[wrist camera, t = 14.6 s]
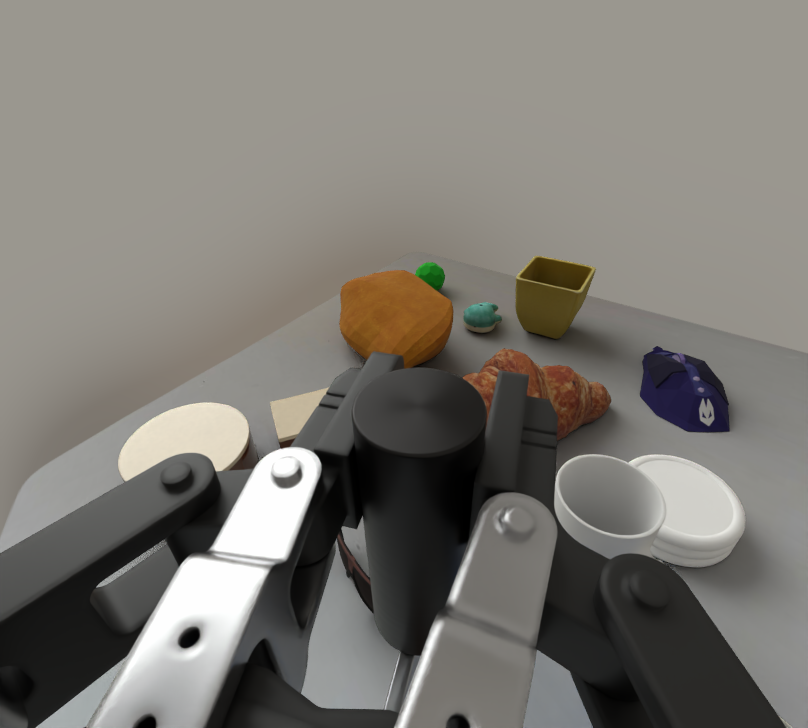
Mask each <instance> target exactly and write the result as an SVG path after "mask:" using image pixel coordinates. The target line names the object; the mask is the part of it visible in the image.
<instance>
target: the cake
mask: <svg viewBox="0 0 808 728" xmlns="http://www.w3.org/2000/svg"><path fill="white" fill-rule="evenodd" d="M182 453H199V454H203V455H205V456H207V457H208V458H209V459H210V460H211V461H212V463H213V465H214V468H215V470H216V471H229V470H245V469H253V468H255V467H256V465H257V464H258V455H257V452H256V448H255V445H254V442H253V438H252V435H251V432H250V428H249V425H248V422H247V420H246V418H245V417H244V415H243V414H242V413H241V412H239V411H238V410H237V409H235V408H233V407H231V406H228V405H225V404H220V403H195V404H190V405H185V406H181V407H178V408H175V409H172V410H169V411H167V412H165V413H162V414H160V415H158V416H157V417H155V418H153V419H151V420H150V421H148V422H147V423H145V424H144V425H143V426H141V427H140V428H139V429H138V430H137V431H135V432H134V434H133V435H132V436H131V437H130V438H129V439H128V440H127V442H126V443H125V445H124V446H123V448H122V450H121V453H120V455H119V459H118V468H119V473H120V475H121V477H122V479H123V481H124V482H126V481H128V480H130V479H131V478H133V477H135V476H137V475H138V474H140V473H142V472H144V471H145V470H147V469H149V468H151V467H152V466H154V465H156V464H158V463H159V462H161V461H163V460H165V459H167V458H169V457H172V456H174V455H178V454H182Z"/></svg>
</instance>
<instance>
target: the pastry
mask: <svg viewBox="0 0 808 728" xmlns="http://www.w3.org/2000/svg"><path fill="white" fill-rule="evenodd" d="M499 370H501V371H508V372H515V373H521V374H528V375H529V382H528V389H527V396H531V397H537V398H543V399H549V400H550V402H551V404H552V406H553V407H554V409H555V411H556V413H557V415H558V426H557V441H558V440H560V439H562V438H564V437H566V436H567V434H569V433H570V432H572V431H573V430H575V429H577V428H578V426H579V425H583V424H587V423H591V422H593V421H595V420H597V419H598V418H599V417H600V416H602V415H603V414H604V413H605V412H606V410H607V409H608V407H609V405H610V403H611V398H610V395H609V393H608V391H607V390H606V388H605V387H604V386H603V385H601V384H600V383H598V382H588V381H587V380H586V379H585V378H583V377H581V376H580V375H579V374H578V373H576V372H574V371H573V370H572V369H571V368H570V367H568V366H560V365H557V366H545V367H542V368H540V366H539V365H538V364H536V363H534V362H533V361H532V360H531V359H530V358H529V357H528V356H527V355H526V354H524V353H521V352H518V351H514V350H512V349H510V350H509V349H505V348H504V349H502V350H500V351H499V352H497V353H496V354H495V355H494V356H493V357H492V359H490V360H489V361H486V363H485V365H484V367H483V368H482V369H481V371H480V372H479V373H471V374H467V375H465V376H464V377H463V379H465V380H466V381H468V382H469V383H470V384H472V385H473V386H474V387H475V388H476V389H477V390H478V392H479V393H480V394H481V396H482V398H483V400H484V402H485V405H486V409H487V419H486V426H487V421H488V417H489V412H490V408H491V403H492V398H493V394H494V389H495V385H496V380H497V375H498V371H499ZM485 431H486V428H485Z"/></svg>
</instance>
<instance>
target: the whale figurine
mask: <svg viewBox="0 0 808 728" xmlns="http://www.w3.org/2000/svg"><path fill="white" fill-rule="evenodd" d="M497 310H498V306H497V305H495V304H491V303H486V302H484V303H481V304H474V305H472V306H470V307H469V308H468V309H466V310H465V311H464V325H465V327H466V328H467V329H469V330H471V331H474V332H479V333H485V332H489V331H491V330H493V328H494V327H495V324H497V323H500V322H501V321H502V319H501V317H500V316H499V315H495V314H494V312H495V311H497Z"/></svg>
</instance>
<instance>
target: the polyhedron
mask: <svg viewBox="0 0 808 728" xmlns="http://www.w3.org/2000/svg"><path fill="white" fill-rule="evenodd" d="M415 275H416V276H417V277H419V278H420V279H422V280H423V281H424V282H426V283H427V284H428V285H430V286H431V287H432V288H434V289H435V290H436V291H437V290H439V289H440V288H441V287H442V285H443V283H444V280H445V275H444V271H443V269H442V268H441V267H440V266H438V265H437V264H435V263H433V262H432V263H424V264H423V265H421V266H420V267H419V268H418V269H417V271H416V274H415Z"/></svg>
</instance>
